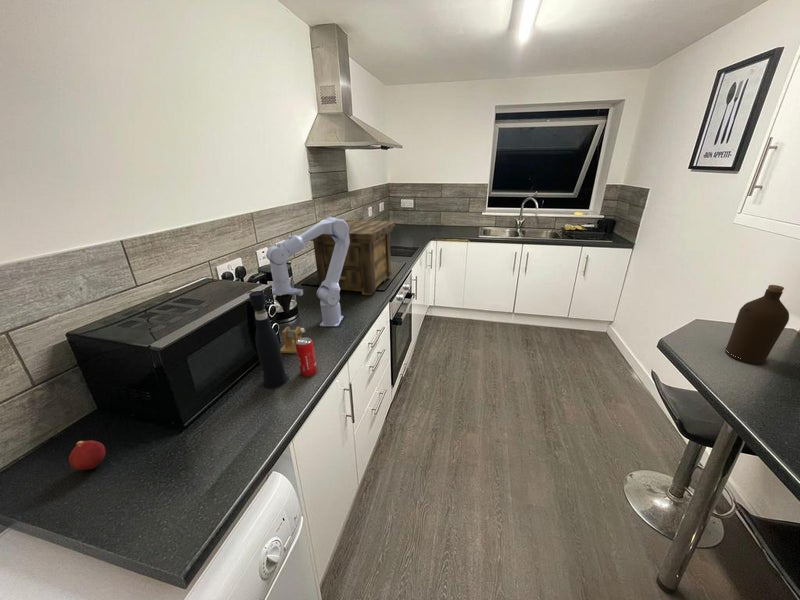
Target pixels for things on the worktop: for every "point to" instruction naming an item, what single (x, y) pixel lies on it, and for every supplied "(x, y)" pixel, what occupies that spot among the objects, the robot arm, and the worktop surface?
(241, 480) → the worktop surface
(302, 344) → the beverage can
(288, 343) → the bracket
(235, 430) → the worktop surface
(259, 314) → the black bottle
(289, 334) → the tap lever
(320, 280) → the crate
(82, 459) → the onion
